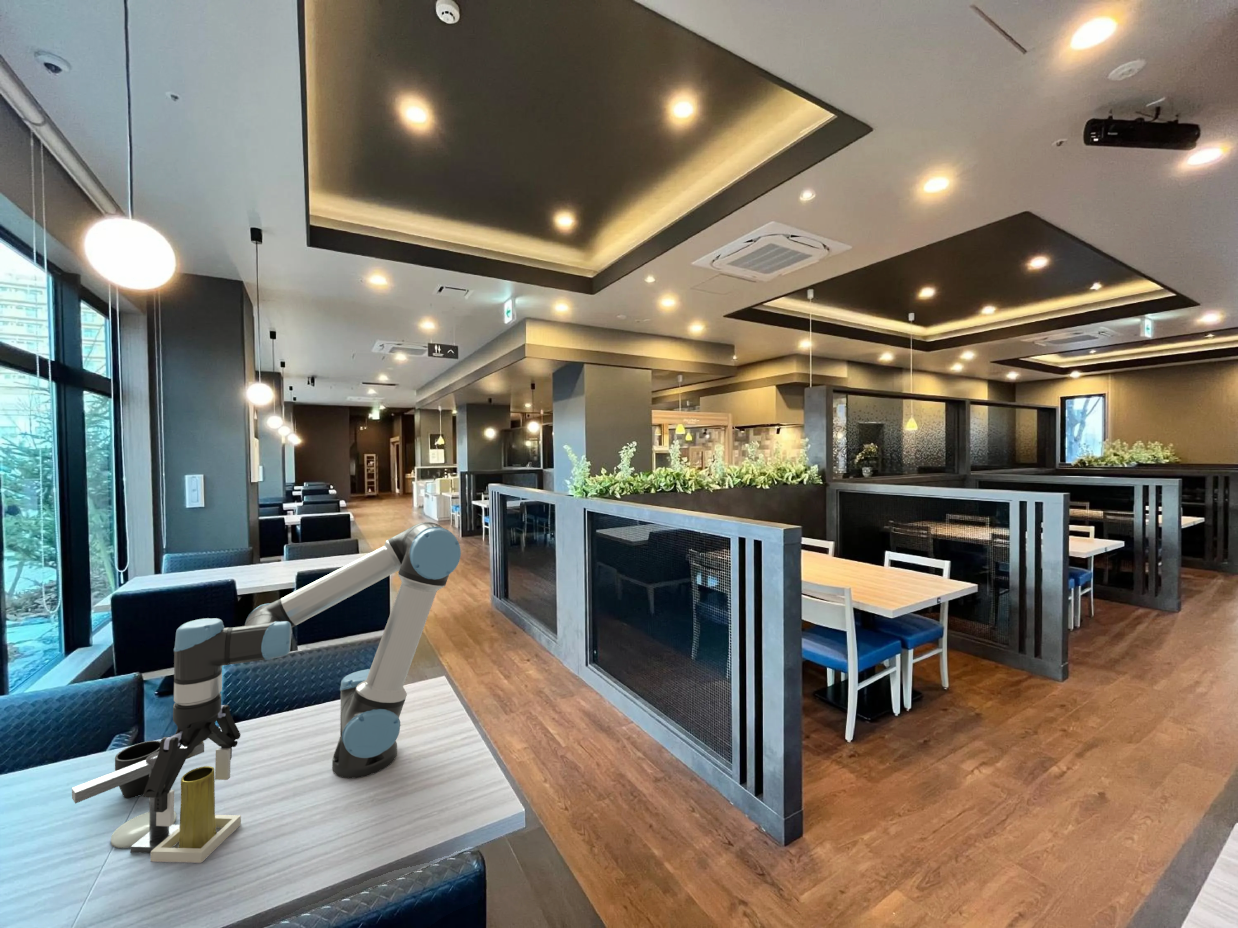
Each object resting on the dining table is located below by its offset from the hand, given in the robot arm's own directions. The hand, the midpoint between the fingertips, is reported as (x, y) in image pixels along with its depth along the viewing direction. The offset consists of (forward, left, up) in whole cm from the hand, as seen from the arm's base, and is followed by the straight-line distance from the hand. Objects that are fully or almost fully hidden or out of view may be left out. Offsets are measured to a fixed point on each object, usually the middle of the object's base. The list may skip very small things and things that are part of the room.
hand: (195, 800), depth 101 cm
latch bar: (+9, +2, +7) cm, 11 cm away
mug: (+25, -15, -9) cm, 30 cm away
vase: (0, 0, -9) cm, 9 cm away
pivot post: (+8, 0, -9) cm, 12 cm away
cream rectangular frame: (0, 0, -9) cm, 9 cm away
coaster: (+14, -3, -9) cm, 17 cm away
